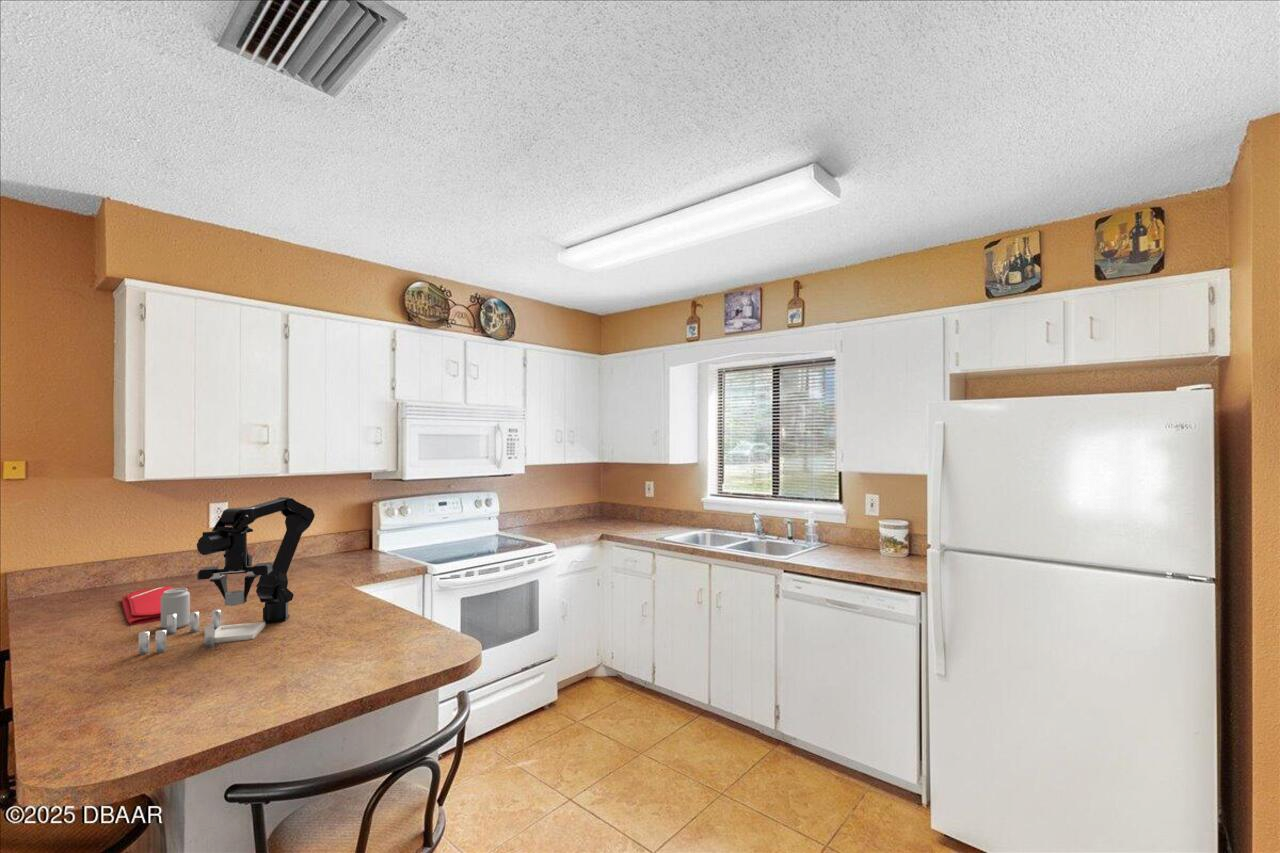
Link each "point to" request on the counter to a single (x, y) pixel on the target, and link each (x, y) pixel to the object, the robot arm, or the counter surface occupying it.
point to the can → (175, 606)
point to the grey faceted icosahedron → (235, 598)
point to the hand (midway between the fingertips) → (236, 598)
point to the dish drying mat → (143, 605)
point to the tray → (237, 632)
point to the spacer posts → (172, 629)
